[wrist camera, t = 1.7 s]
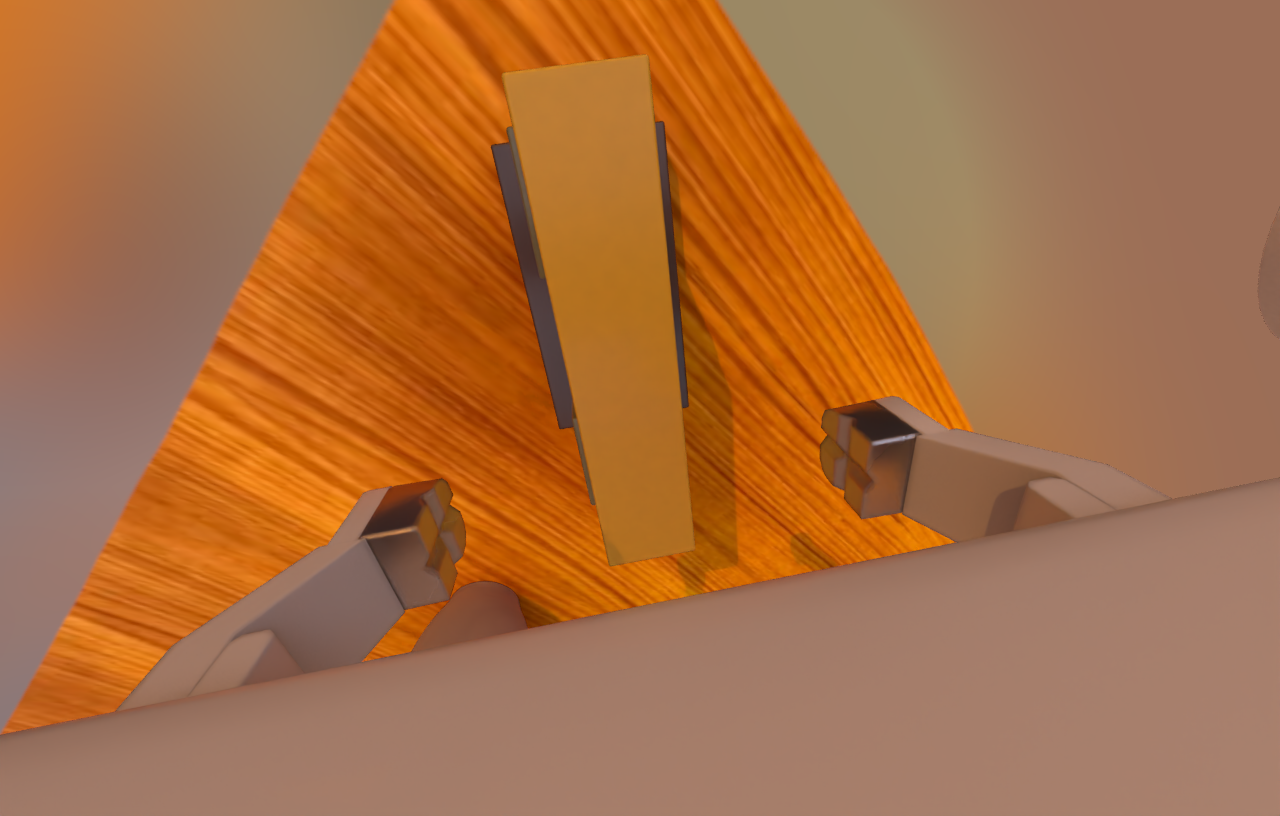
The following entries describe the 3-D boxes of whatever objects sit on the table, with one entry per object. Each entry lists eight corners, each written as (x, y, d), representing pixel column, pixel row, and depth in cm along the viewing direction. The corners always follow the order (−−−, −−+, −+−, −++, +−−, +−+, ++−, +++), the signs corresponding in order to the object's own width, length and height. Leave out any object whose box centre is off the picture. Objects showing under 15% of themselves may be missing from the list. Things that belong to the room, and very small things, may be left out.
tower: (657, 125, 22) (709, 89, 14) (682, 393, 29) (728, 485, 20) (497, 147, 22) (443, 125, 13) (560, 414, 29) (553, 517, 20)
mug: (408, 626, 36) (356, 767, 27) (451, 549, 33) (407, 679, 24) (547, 661, 40) (539, 794, 31) (596, 596, 37) (602, 722, 28)
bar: (634, 78, 13) (649, 52, 11) (680, 503, 21) (695, 551, 18) (515, 94, 13) (500, 72, 10) (605, 517, 20) (609, 567, 18)
